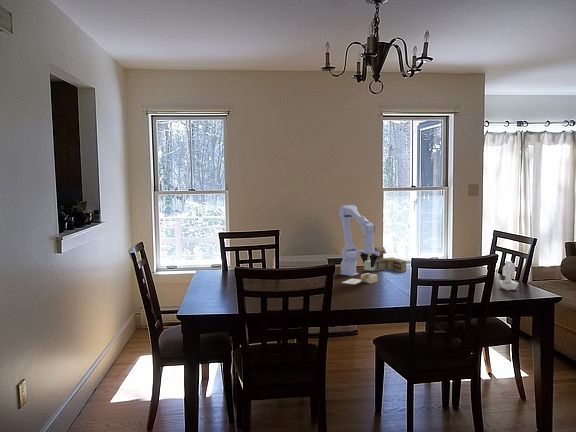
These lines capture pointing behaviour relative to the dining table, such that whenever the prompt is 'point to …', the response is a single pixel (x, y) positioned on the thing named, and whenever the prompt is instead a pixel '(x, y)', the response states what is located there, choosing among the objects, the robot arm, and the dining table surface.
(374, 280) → the beech base
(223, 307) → the dining table surface
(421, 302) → the dining table surface
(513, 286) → the figurine
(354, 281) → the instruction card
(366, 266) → the sage cube
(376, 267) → the toy kitchen set
